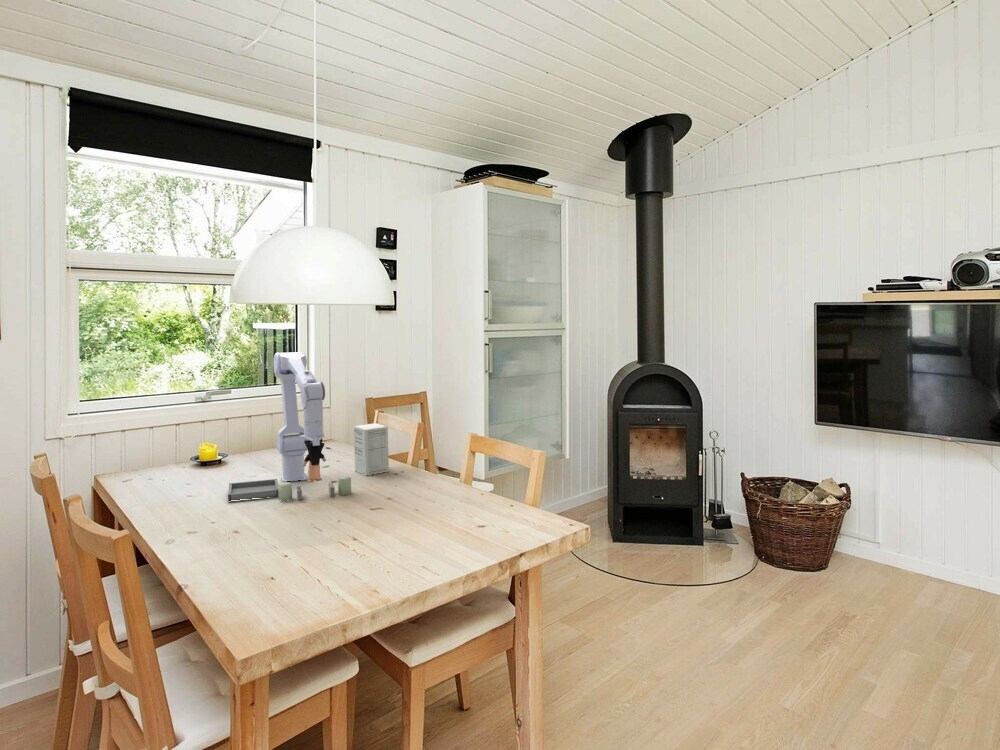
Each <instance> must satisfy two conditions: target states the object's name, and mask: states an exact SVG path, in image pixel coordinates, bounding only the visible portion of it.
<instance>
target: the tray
mask: <svg viewBox="0 0 1000 750" xmlns="http://www.w3.org/2000/svg"><path fill="white" fill-rule="evenodd" d="M278 484H279V482H278V479H277V478H272V479H271V478H270V479H260V480H251V481H240V482H229V484H228V490H227V491H228V492H227V493H228V494H227V500H228V501H231V500H240V499H252V498H267V497H277V498H279V497H278V496H279V493H278ZM267 499H268V498H267ZM228 501H227V502H228Z"/></svg>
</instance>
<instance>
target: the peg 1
mask: <svg viewBox="0 0 1000 750" xmlns="http://www.w3.org/2000/svg"><path fill="white" fill-rule="evenodd" d="M337 480H338V481H337V484H338V485H337V487H338V491H337V492H338V493H339V494H341V495H340V496H348V495H347V494H349V495H351V494H352V477H351V476H339V477H338V479H337ZM350 493H351V494H350ZM339 494H338V495H339Z"/></svg>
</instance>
